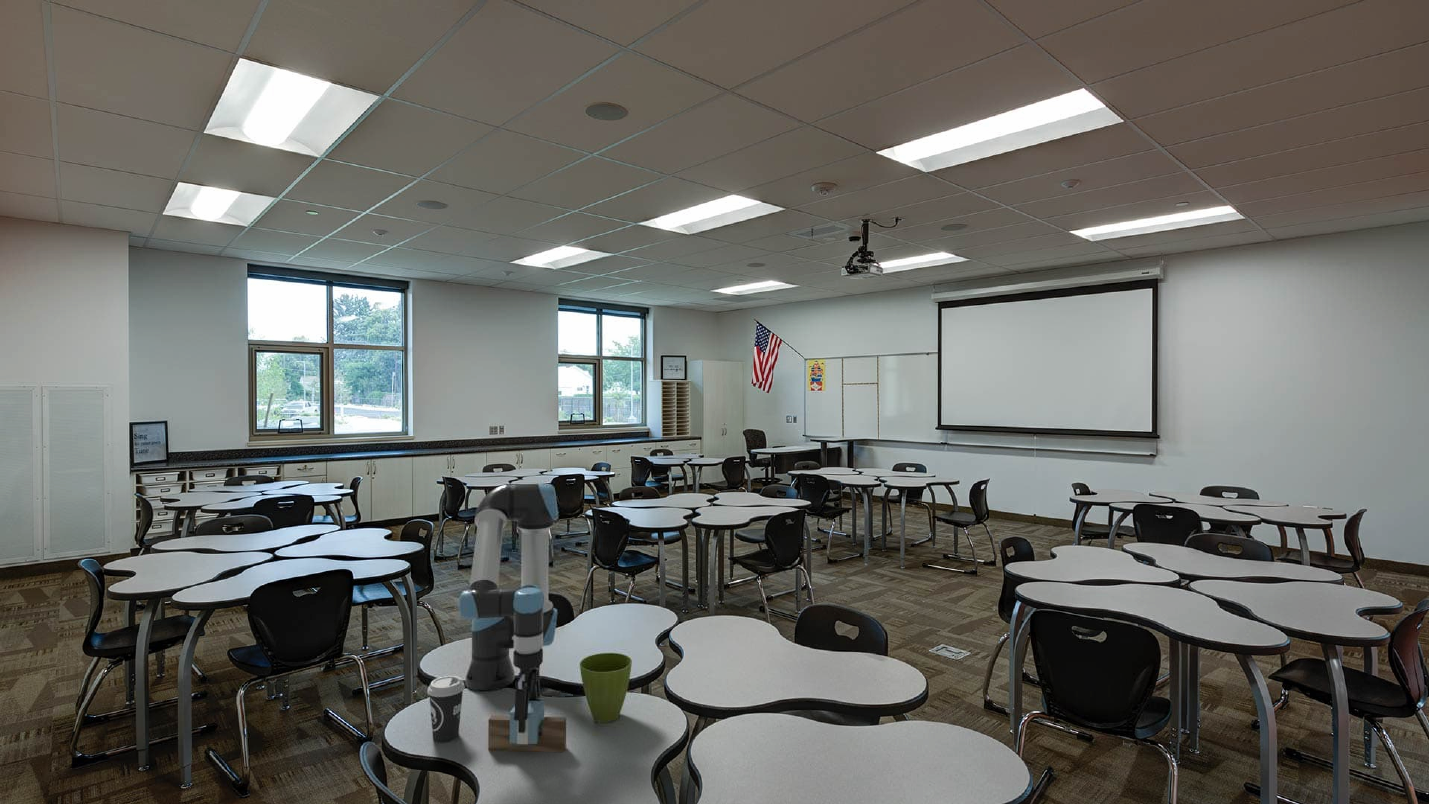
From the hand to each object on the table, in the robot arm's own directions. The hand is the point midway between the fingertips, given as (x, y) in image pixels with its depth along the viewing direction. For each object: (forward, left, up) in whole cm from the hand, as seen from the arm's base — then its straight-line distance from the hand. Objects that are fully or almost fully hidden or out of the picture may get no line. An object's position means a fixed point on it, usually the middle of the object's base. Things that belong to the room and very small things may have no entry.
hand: (527, 735), depth 180 cm
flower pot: (-19, +17, -4) cm, 26 cm away
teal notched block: (0, 0, 0) cm, 0 cm away
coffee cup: (-5, -24, -4) cm, 25 cm away
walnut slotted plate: (0, 0, -3) cm, 3 cm away
